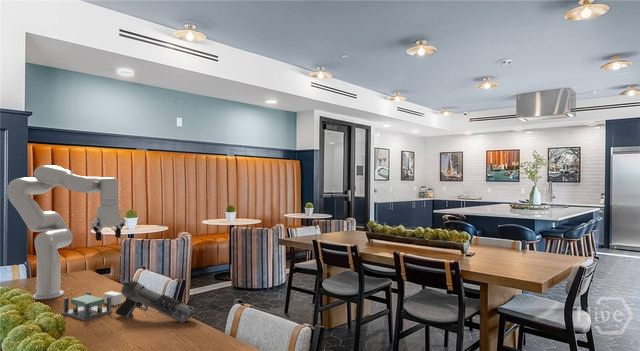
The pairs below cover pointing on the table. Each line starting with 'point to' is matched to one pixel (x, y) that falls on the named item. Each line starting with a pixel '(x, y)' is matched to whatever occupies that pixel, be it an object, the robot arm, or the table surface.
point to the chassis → (86, 310)
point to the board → (87, 300)
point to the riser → (113, 297)
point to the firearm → (151, 302)
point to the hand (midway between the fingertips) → (108, 238)
